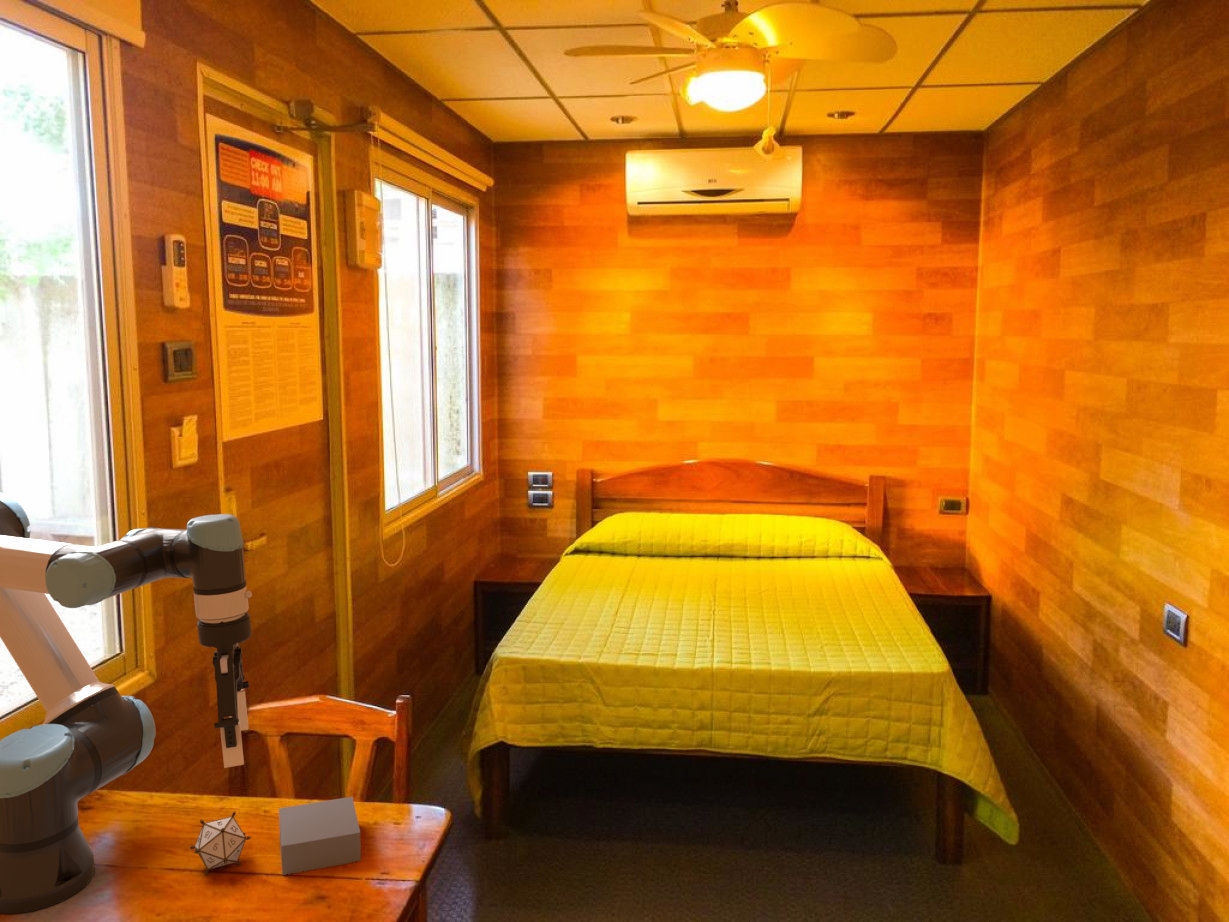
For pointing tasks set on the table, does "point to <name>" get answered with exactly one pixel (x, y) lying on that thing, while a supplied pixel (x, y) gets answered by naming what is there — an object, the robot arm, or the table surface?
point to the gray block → (319, 835)
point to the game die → (220, 842)
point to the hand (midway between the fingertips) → (237, 747)
